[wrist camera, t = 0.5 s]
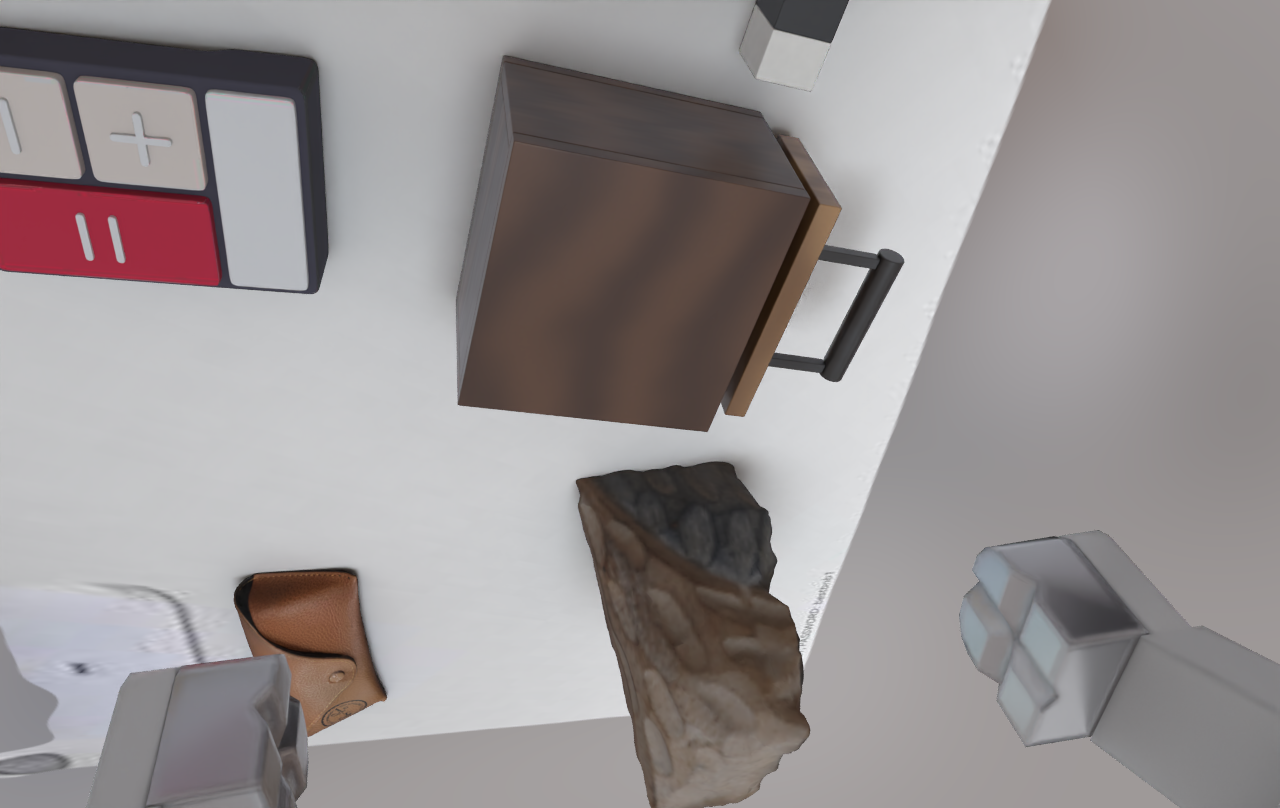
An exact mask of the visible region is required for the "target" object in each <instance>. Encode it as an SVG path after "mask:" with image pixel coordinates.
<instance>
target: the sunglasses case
mask: <svg viewBox="0 0 1280 808" xmlns="http://www.w3.org/2000/svg"><path fill="white" fill-rule="evenodd" d="M234 604H235V607H236V609H237V611H238V614H239V617H240V621H241V624H242V627H243V630H244V633H245V635H246V639H247V641H248V644H249V647H250V649H251V652H252V654H253V657H257V656H266V655H274V654H284V655H285V657H286V660H287V663H288V665H289V668H290V671H291V674H292V676H291V687H290V695H291V696H292V697H294V698H296V699H297V700H299V701H300V703H301V706H302V710H303V713H304V718H305V724H306V730H307V737H309V736H312V735H314V734H315V733H317V732H319V731H321V730H323V729H325V728H328V727H329V726H331V725H333V724H335V723H337V722H339V721H341V720H344V719H346V718H348V717H349V716H351V715H353V714H355V713H358V712H359V711H361V710H363V709H365V708H367V707H369V706H371V705H373V704H374V703H376V702H379V701H385V700H386V699H387V695H386V693H385V691H384V689H383V687H382V685H381V683H380V681H379V680H378V677H377V675H376V672H375V669H374V666H373V663H372V659H371V655H370V651H369V646H368V643H367V639H366V635H365V631H364V626H363V622H362V617H361V612H360V603H359V596H358V579H357V577H356V575H353V574H351V573H348V572H345V571H324V570H304V571H286V572H269V573H257V574H254V575H252V576H250V577H248V578H246V579H245V580H244V581H243V582H241V583H240V585H239V586H238V587H237V588H236V590H235V593H234Z"/></svg>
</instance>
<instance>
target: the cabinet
mask: <svg viewBox="0 0 1280 808" xmlns="http://www.w3.org/2000/svg"><path fill="white" fill-rule="evenodd" d="M809 201H810V197H809V195H808V193H807V191H806V190H805V189H804V187H803V185H802V183H801V182H800V180H799V178H798V176H797V175H796V173H795V171H794V169H793V168H792V166H791V164H790V163H789V161H788V159H787V157H786V156H785V154H784V152H783V150H782V149H781V147H780V145H779V143H778V142H777V140H776V138H775V136H774V135H773V133H772V131H771V130H770V128H769V126H768V124H767V123H766V121H765V119H764V117H763V116H762V114H761V112H758V111H754V110H749V109H744V108H740V107H735V106H731V105H726V104H722V103H717V102H713V101H708V100H704V99H699V98H695V97H690V96H686V95H681V94H676V93H672V92H667V91H663V90H658V89H654V88H649V87H645V86H640V85H636V84H631V83H627V82H622V81H618V80H613V79H608V78H604V77H599V76H595V75H590V74H586V73H581V72H577V71H572V70H568V69H563V68H559V67H554V66H550V65H545V64H540V63H536V62H531V61H527V60H522V59H518V58H513V57H509V56H503V59H502V64H501V69H500V75H499V80H498V85H497V90H496V95H495V100H494V106H493V111H492V116H491V121H490V126H489V131H488V137H487V142H486V147H485V152H484V157H483V163H482V168H481V173H480V178H479V183H478V188H477V194H476V199H475V204H474V209H473V214H472V220H471V225H470V230H469V235H468V240H467V245H466V251H465V256H464V261H463V266H462V271H461V277H460V282H459V287H458V292H457V297H456V335H457V388H458V405H460V406H470V407H479V408H488V409H498V410H507V411H516V412H526V413H535V414H545V415H554V416H563V417H573V418H582V419H591V420H601V421H610V422H619V423H629V424H638V425H647V426H657V427H666V428H675V429H685V430H694V431H703V432H708V430H709V428H710V425H711V423H712V421H713V418H714V416H715V414H716V412H717V409H718V407H719V405H720V403H721V400H722V398H723V396H724V394H725V391H726V389H727V387H728V385H729V382H730V380H731V378H732V376H733V373H734V371H735V369H736V366H737V364H738V362H739V360H740V357H741V355H742V353H743V351H744V348H745V346H746V344H747V342H748V339H749V337H750V335H751V333H752V330H753V328H754V326H755V324H756V321H757V319H758V317H759V314H760V312H761V310H762V308H763V305H764V303H765V301H766V299H767V296H768V294H769V292H770V290H771V287H772V285H773V283H774V281H775V278H776V276H777V274H778V271H779V269H780V267H781V265H782V262H783V260H784V258H785V256H786V253H787V251H788V249H789V247H790V244H791V242H792V240H793V238H794V235H795V233H796V231H797V229H798V226H799V224H800V222H801V219H802V217H803V215H804V213H805V210H806V208H807V206H808V204H809Z"/></svg>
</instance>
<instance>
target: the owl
mask: <svg viewBox="0 0 1280 808" xmlns="http://www.w3.org/2000/svg"><path fill="white" fill-rule="evenodd" d="M576 484H577V487H578V489H579V492H580V500H579V503H578V509H579V513H580V517H581V520H582V525H583V530H584V532H585V536H586V540H587V542H588V545H589V547H590V550H591V554H592V557H593V562H594V568H595V572H596V577H597V581H598V586H599V589H600V594H601V599H602V605H603V610H604V615H605V620H606V624H607V628H608V631H609V635H610V640H611V644H612V647H613V649H614V651H615V653H616V656H617V660H618V665H619V669H620V673H621V678H622V683H623V689H624V694H625V698H626V703H627V708H628V711H629V713H630V715H631V718H632V723H633V729H634V743H635V748H636V754H637V758H638V760H639V762H640V764H641V766H642V770H643V773H644V780H645V785H646V789H647V797H648V799H649V804H650V806H651V808H704V807H708V806H709V807H713V806H719V805H721V806H723V805H726V804H729V803H738V802H740V801H742V800H744V799H746V798H748V797H749V796H751V795H753V794H754V793H755V792H757V791H758V790H759V788H760V782H761V781H762V779H763V778H764V777H765V776H766V775H767V774H770V773H771V772H774V771H776V770H777V769H778V765H779V761H780V759H781V757H782V755H783V754H789V753H791V752H792V751H796V750H798V749H799V748H800V746H801V745H802V744H803V743H804V742H805V740H806V739H807V738H808V737H809V734H810V727H809V724H808V722H807V720H806V718H805V716H804V715H803V714H802V713H801V712H800V697H801V694H802V684H803V677H804V674H803V662H802V655H801V653H800V651H799V642H800V638H799V636H798V634H797V631H796V627H795V623H794V621H793V619H792V617H791V614H790V610H789V607H788V606H787V605H785V604H783V603H782V602H781V601H779V600H778V599H776V598H775V597H773V596H772V595H771V594H769V589H770V582H771V579H772V577H773V574H774V568H775V566H776V564H777V558H776V556H775V554H774V553H773V551H772V548H771V544H770V540H771V535H772V526H771V520H770V516H769V515H768V511H767V510H766V509H765V508H763V507H760V506H759V504H758V503H757V502H756V500H755V499H754V498H753V496H752V495H751V494H750V492H749V491H748V490H747V488H746V487H745V486H744V484H743V483H742V482H741V481H740V480H739V479H738V478H737V476H736V473H735V470H734V466H733V465H731V464H729V463H725V462H711V463H704V464H699V465H696V466H693V467H686V468H684V467H682V466H677V465H676V466H671V467H668V468H665V469H661V470H658V469H657V470H649V471H645V472H636V471H632V470H627V471H619V472H614V473H610V474H608V475H604V476H598V477H589V478H583V479H579V480H577V481H576Z"/></svg>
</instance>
